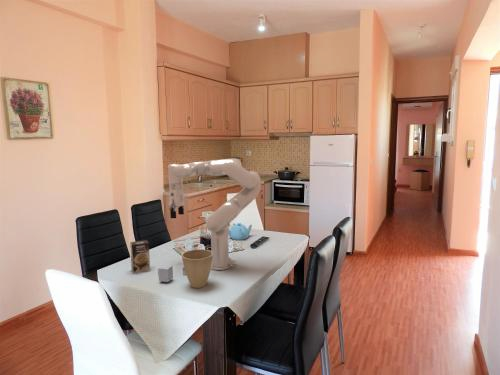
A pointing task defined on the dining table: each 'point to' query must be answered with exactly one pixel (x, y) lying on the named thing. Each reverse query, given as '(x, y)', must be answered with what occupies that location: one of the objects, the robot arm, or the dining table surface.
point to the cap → (165, 273)
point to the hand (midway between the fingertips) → (177, 216)
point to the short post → (184, 271)
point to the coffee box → (140, 256)
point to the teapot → (239, 232)
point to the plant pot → (197, 266)
